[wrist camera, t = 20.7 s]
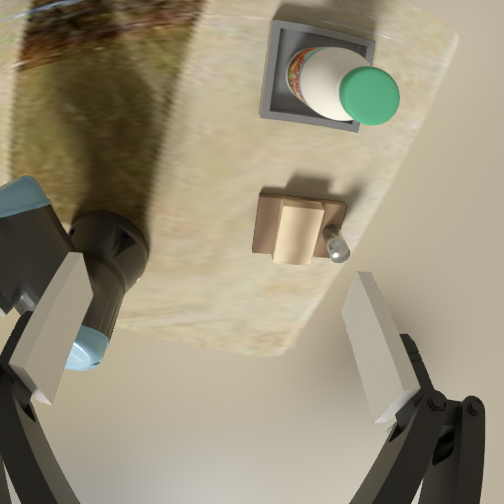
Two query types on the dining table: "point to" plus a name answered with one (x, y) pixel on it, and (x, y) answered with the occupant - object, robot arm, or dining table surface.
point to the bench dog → (335, 243)
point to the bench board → (269, 217)
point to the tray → (277, 57)
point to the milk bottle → (342, 85)
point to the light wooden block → (296, 231)
